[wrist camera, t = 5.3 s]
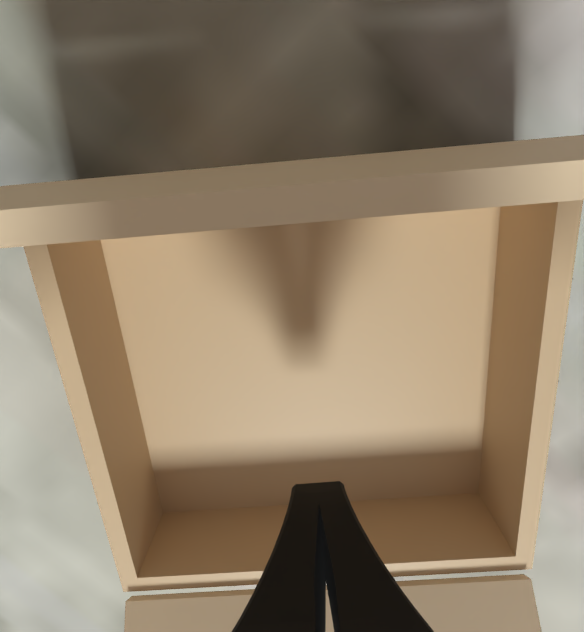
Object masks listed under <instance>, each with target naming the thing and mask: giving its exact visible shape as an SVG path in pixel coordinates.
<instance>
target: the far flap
mask: <svg viewBox="0 0 584 632" xmlns="http://www.w3.org/2000/svg"><path fill="white" fill-rule="evenodd" d="M396 582H397V584H398V585H399V587H400V588H401V590H402V591H403V592H404V594H405V595H406V596H407V598H408V599H409V600H410V602H411V603H412V604H413V606H414V607H415V608H416V610H417V611H418V612H419V613H420V615H421V616H422V617H423V618H424V620H425V621H426V622H427V623H428V625H429V626H430V627H431V628H432V630H433V631H434V632H541V627H540V622H539V617H538V612H537V607H536V602H535V597H534V592H533V587H532V582H531V579H530V578H528V577H527V576H525V575H524V574H520V575H502V576H484V577H466V578H448V579H430V580H412V581H396ZM254 590H255V589H250V590H232V591H214V592H196V593H178V594H160V595H142V596H131V597H130V598H129V599H128V600H127V601H126V606H125V629H124V632H232V630H233V629H234V627H235V625H236V624H237V622H238V620H239V618H240V617H241V615H242V613H243V611H244V609H245V607H246V606H247V604H248V602H249V600H250V598H251V596H252V594H253V592H254ZM325 632H334V627H333V621H332V615H331V609H330V602H329V596H328V590H327V585H326V631H325Z"/></svg>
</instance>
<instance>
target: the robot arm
mask: <svg viewBox="0 0 584 632" xmlns="http://www.w3.org/2000/svg"><path fill="white" fill-rule="evenodd" d="M326 584H327V590H328V596H329V602H330V609H331V615H332V621H333V627H334V632H434V631H433V630H432V628H431V627H430V626H429V625H428V623H427V622H426V621H425V620H424V618H423V617H422V616H421V615H420V613H419V612H418V611H417V610H416V608H415V607H414V606H413V604H412V603H411V602H410V600H409V599H408V598H407V596H406V595H405V594H404V592H403V591H402V590H401V588H400V587H399V585H398V584H397V582H396V581H395V580H394V578H393V577H392V575H391V574H390V572H389V571H388V569H387V568H386V566H385V565H384V563H383V561H382V560H381V558H380V557H379V555H378V553H377V552H376V550H375V549H374V547H373V545H372V543H371V542H370V540H369V538H368V536H367V535H366V533H365V531H364V529H363V528H362V526H361V524H360V522H359V520H358V518H357V516H356V514H355V512H354V510H353V508H352V506H351V503H350V501H349V499H348V496H347V493H346V491H345V487H344V484H343V483H341V482H340V481H334V482H320V483H306V484H295V485H294V486H293V487H292V491H291V496H290V501H289V505H288V508H287V512H286V515H285V518H284V521H283V524H282V527H281V530H280V533H279V535H278V538H277V541H276V543H275V546H274V548H273V551H272V553H271V556H270V558H269V560H268V562H267V565H266V567H265V569H264V571H263V573H262V576H261V578H260V580H259V582H258V584H257V586H256V588H255V590H254V592H253V594H252V596H251V598H250V600H249V602H248V604H247V606H246V607H245V609H244V611H243V613H242V615H241V617H240V618H239V620H238V622H237V624H236V625H235V627H234V629H233V630H232V632H325V631H326Z"/></svg>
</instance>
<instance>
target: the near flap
mask: <svg viewBox="0 0 584 632" xmlns="http://www.w3.org/2000/svg"><path fill="white" fill-rule="evenodd" d="M574 200H584V135H576V136H565V137H554V138H542V139H531V140H519V141H508V142H497V143H485V144H474V145H463V146H451V147H440V148H429V149H417V150H406V151H395V152H383V153H372V154H361V155H349V156H338V157H327V158H315V159H304V160H293V161H281V162H270V163H259V164H247V165H236V166H225V167H213V168H202V169H190V170H179V171H168V172H156V173H145V174H134V175H122V176H111V177H100V178H88V179H77V180H66V181H54V182H43V183H32V184H20V185H9V186H1V187H0V248H10V247H22V246H34V245H46V244H58V243H70V242H82V241H94V240H106V239H118V238H130V237H142V236H154V235H166V234H178V233H190V232H202V231H214V230H226V229H238V228H250V227H262V226H274V225H286V224H298V223H310V222H322V221H334V220H346V219H358V218H370V217H382V216H394V215H406V214H418V213H430V212H442V211H454V210H466V209H478V208H490V207H502V206H514V205H526V204H538V203H550V202H562V201H574Z"/></svg>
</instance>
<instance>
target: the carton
mask: <svg viewBox="0 0 584 632" xmlns="http://www.w3.org/2000/svg"><path fill="white" fill-rule="evenodd" d="M582 204H583V200H574V201H562V202H550V203H538V204H526V205H514V206H502V207H490V208H478V209H466V210H454V211H442V212H430V213H418V214H406V215H394V216H382V217H370V218H358V219H346V220H334V221H322V222H310V223H298V224H286V225H274V226H262V227H250V228H238V229H226V230H214V231H202V232H190V233H178V234H166V235H154V236H142V237H130V238H118V239H106V240H94V241H82V242H70V243H58V244H46V245H34V246H24V250H25V253H26V257H27V260H28V264H29V267H30V271H31V274H32V277H33V281H34V284H35V288H36V291H37V295H38V298H39V302H40V305H41V308H42V312H43V315H44V319H45V322H46V326H47V329H48V333H49V336H50V340H51V343H52V346H53V350H54V353H55V357H56V360H57V364H58V367H59V371H60V374H61V377H62V381H63V384H64V388H65V391H66V395H67V398H68V402H69V405H70V409H71V412H72V415H73V419H74V422H75V426H76V429H77V433H78V436H79V440H80V443H81V446H82V450H83V453H84V457H85V460H86V464H87V467H88V471H89V474H90V478H91V481H92V484H93V488H94V491H95V495H96V498H97V502H98V505H99V509H100V512H101V515H102V519H103V522H104V526H105V529H106V533H107V536H108V540H109V543H110V547H111V550H112V553H113V557H114V560H115V564H116V567H117V571H118V574H119V578H120V581H121V584H122V588H123V591H124V592H129V591H147V590H165V589H183V588H201V587H219V586H237V585H254V584H258V582H259V580H260V578H261V576H262V573H263V571H264V569H265V567H266V565H267V562H268V560H269V558H270V556H271V553H272V551H273V548H274V546H275V543H276V541H277V538H278V535H279V533H280V530H281V527H282V524H283V521H284V518H285V515H286V512H287V508H288V505H289V501H290V496H291V491H292V487H293V486H294V485H295V484H306V483H320V482H334V481H340V482H341V483H343V484H344V487H345V491H346V493H347V496H348V499H349V501H350V503H351V506H352V508H353V510H354V512H355V514H356V516H357V518H358V520H359V522H360V524H361V526H362V528H363V529H364V531H365V533H366V535H367V536H368V538H369V540H370V542H371V543H372V545H373V547H374V549H375V550H376V552H377V553H378V555H379V557H380V558H381V560H382V561H383V563H384V565H385V566H386V568H387V569H388V571H389V572H390V574H391V575H392V577H398V576H415V575H433V574H451V573H469V572H487V571H505V570H523V569H532V566H533V558H534V551H535V544H536V537H537V530H538V522H539V515H540V508H541V501H542V493H543V486H544V479H545V472H546V464H547V457H548V450H549V443H550V435H551V428H552V421H553V414H554V406H555V399H556V392H557V385H558V378H559V370H560V363H561V356H562V349H563V341H564V334H565V327H566V320H567V312H568V305H569V298H570V291H571V283H572V276H573V269H574V262H575V254H576V247H577V240H578V233H579V226H580V218H581V211H582Z"/></svg>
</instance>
